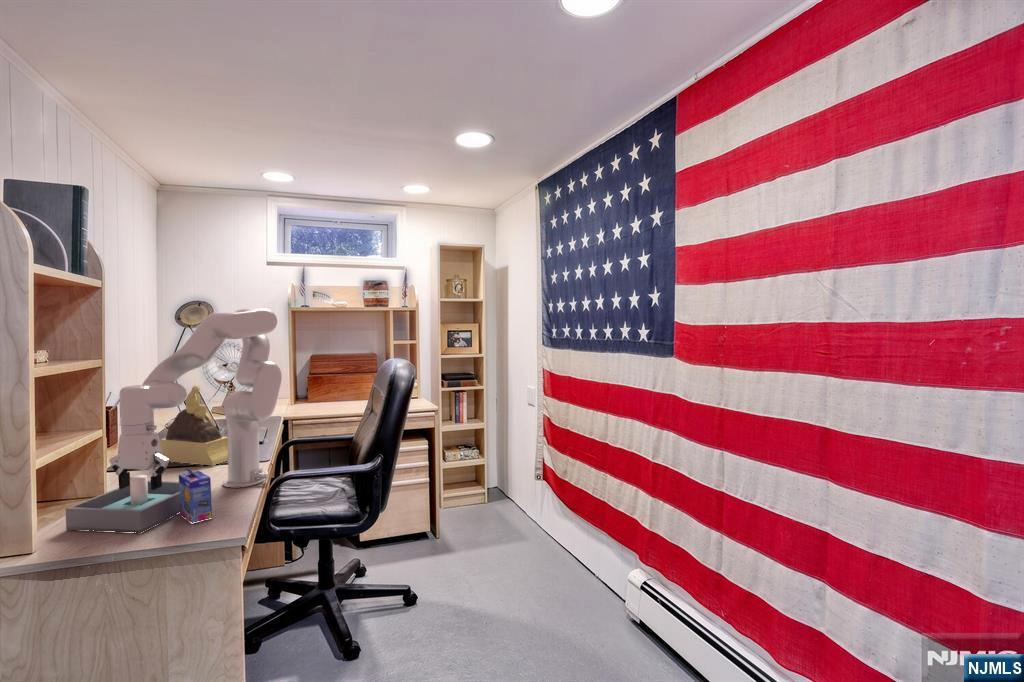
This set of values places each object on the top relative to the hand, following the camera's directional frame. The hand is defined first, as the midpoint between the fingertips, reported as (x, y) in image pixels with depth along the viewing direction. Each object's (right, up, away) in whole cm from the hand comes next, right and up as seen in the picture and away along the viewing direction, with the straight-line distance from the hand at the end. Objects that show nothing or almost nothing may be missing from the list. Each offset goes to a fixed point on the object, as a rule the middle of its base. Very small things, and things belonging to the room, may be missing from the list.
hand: (140, 487), depth 141 cm
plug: (0, -7, 0) cm, 7 cm away
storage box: (0, -8, 0) cm, 8 cm away
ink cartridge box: (+17, -8, -1) cm, 19 cm away
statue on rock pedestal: (-19, -6, +56) cm, 59 cm away
